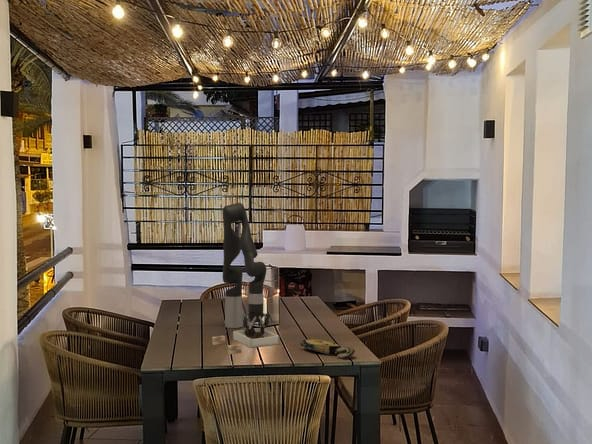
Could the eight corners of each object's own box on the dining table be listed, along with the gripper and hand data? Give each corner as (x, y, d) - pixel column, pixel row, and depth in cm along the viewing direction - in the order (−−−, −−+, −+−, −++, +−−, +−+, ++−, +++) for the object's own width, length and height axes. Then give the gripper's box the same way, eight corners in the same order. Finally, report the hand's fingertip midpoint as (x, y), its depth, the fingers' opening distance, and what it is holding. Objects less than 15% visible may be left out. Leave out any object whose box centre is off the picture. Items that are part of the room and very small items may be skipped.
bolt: (260, 346, 296) (247, 338, 309) (268, 340, 298) (255, 333, 311) (255, 337, 294) (242, 329, 307) (263, 331, 296) (250, 324, 309)
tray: (260, 335, 315) (260, 327, 314) (279, 344, 297) (279, 336, 297) (232, 338, 307) (232, 331, 307) (250, 348, 289) (250, 339, 289)
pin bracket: (223, 342, 299) (223, 335, 299) (241, 352, 281) (241, 345, 281) (212, 344, 296) (212, 336, 296) (229, 354, 278) (229, 346, 278)
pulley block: (341, 348, 266) (296, 335, 288) (340, 361, 265) (295, 348, 288) (363, 347, 275) (317, 336, 298) (361, 360, 275) (316, 347, 297)
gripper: (265, 299, 308) (265, 332, 309) (239, 302, 301) (239, 335, 301) (272, 302, 301) (272, 335, 302) (246, 304, 294) (245, 338, 295)
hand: (255, 335), depth 302 cm, fingers open, 6 cm apart
